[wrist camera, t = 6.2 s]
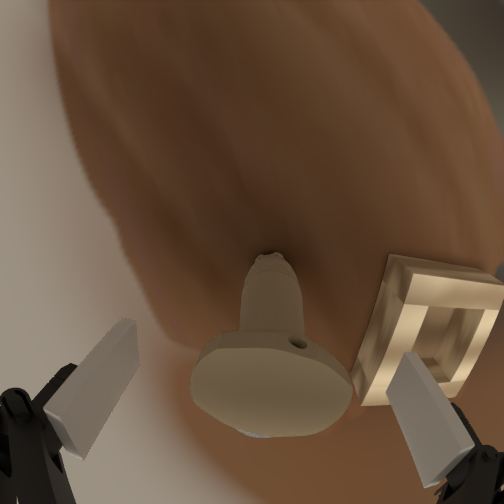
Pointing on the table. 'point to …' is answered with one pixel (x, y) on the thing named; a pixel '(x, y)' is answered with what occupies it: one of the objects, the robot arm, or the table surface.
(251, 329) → the handle
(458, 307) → the socket block
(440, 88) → the table surface
